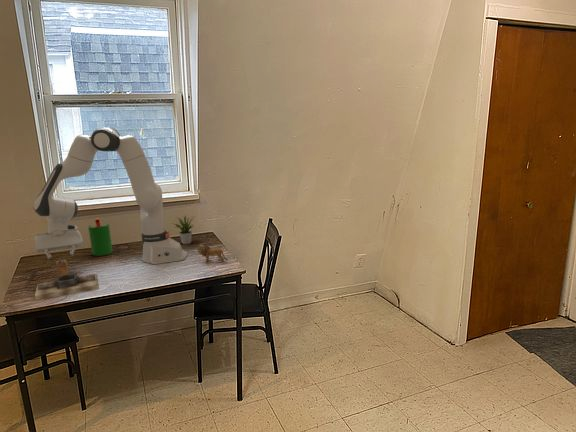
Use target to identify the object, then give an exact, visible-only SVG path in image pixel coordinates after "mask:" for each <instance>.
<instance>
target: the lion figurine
mask: <svg viewBox="0 0 576 432" xmlns="http://www.w3.org/2000/svg"><path fill="white" fill-rule="evenodd" d="M197 253H198V254H199V255H202V257H205V263H209V260H210V258H209V257H215V256H217V257H218V258H217V261H221V262H220V263H224V262H225V260H226V261H228V260H229V259H228V258H226V257H225V254H224V252H223V250H222V249H221V248H211V247H209V246H207V245H206V244H199V245H198V246H197Z"/></svg>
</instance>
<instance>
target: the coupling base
mask: <svg viewBox="0 0 576 432" xmlns="http://www.w3.org/2000/svg"><path fill="white" fill-rule="evenodd" d="M55 278H56V279H53V281H47V282H42V283H37V286H36V289H35V294H34V300H35V301H41V300H46V299H49V298H51V299H52V298H55V297H61V296H65V295H66V296H67V295H71V294H72V295H73V294H77V293H82V292H88V291H93V290H97V289H98V290H99V289H100V286H99V278H98V273H92V274H87V275H86V274H85V275H81V276H80V275H79V274H78V273H75V272H74V273H68V275H62V276H58V275H57V276H56V277H55Z"/></svg>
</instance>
